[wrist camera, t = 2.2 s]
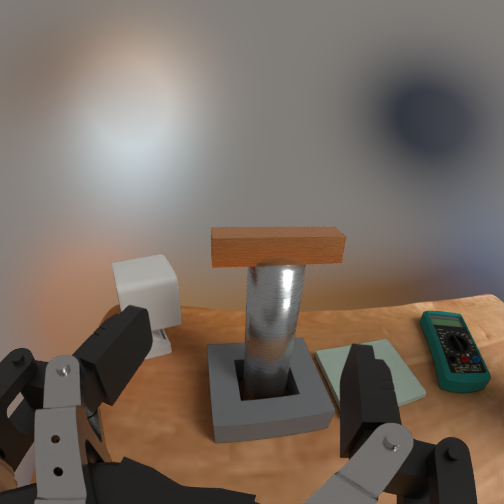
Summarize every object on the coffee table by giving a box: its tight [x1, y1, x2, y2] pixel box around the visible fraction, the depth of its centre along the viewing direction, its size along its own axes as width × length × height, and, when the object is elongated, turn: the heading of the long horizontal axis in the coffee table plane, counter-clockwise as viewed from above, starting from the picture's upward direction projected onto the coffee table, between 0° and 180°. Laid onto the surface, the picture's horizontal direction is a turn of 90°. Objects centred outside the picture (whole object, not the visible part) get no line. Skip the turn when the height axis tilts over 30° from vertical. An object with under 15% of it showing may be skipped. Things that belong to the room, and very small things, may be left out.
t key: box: [211, 227, 346, 401], centre depth 23 cm, size 9×4×17 cm, turn 99°
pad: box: [314, 339, 427, 410], centre depth 28 cm, size 10×10×1 cm
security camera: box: [112, 254, 182, 360], centre depth 31 cm, size 6×7×10 cm
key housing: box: [207, 337, 335, 443], centre depth 26 cm, size 10×10×3 cm
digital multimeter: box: [420, 311, 491, 393], centre depth 30 cm, size 7×15×3 cm, turn 165°
